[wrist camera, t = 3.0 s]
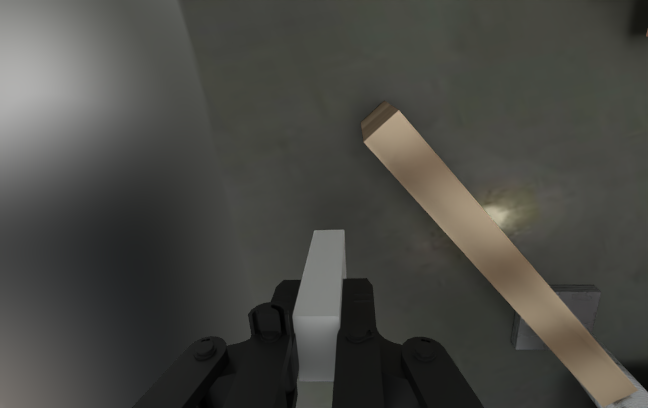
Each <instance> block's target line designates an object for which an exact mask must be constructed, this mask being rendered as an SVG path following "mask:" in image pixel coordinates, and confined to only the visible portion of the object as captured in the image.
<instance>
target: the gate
mask: <svg viewBox="0 0 648 408" xmlns="http://www.w3.org/2000/svg"><path fill="white" fill-rule="evenodd" d="M361 128H362V135H363V142H364V143H365V144H366V145H367V146H368V147H369V148H370V150H371V151H372V152H373V153H374V154H375V155H376V156H377V157H378V158H379V160H380V161H381V162H382V163H383V164H384V165H385V166H386V167H387V168H388V170H389V171H390V172H391V173H392V174H393V175H394V176H395V177H396V178H397V180H398V181H399V182H400V183H401V184H402V185H403V186H404V187H405V188H406V190H407V191H408V192H409V193H410V194H411V195H412V196H413V197H414V198H415V200H416V201H417V202H418V203H419V204H420V205H421V206H422V207H423V208H424V209H425V211H426V212H427V213H428V214H429V215H430V216H431V217H432V218H433V219H434V221H435V222H436V223H437V224H438V225H439V226H440V227H441V228H442V229H443V231H444V232H445V233H446V234H447V235H448V236H449V237H450V238H451V239H452V241H453V242H454V243H455V244H456V245H457V246H458V247H459V248H460V249H461V251H462V252H463V253H464V254H465V255H466V256H467V257H468V258H469V259H470V261H471V262H472V263H473V264H474V265H475V266H476V267H477V268H478V269H479V270H480V272H481V273H482V274H483V275H484V276H485V277H486V278H487V279H488V280H489V282H490V283H491V284H492V285H493V286H494V287H495V288H496V289H497V290H498V292H499V293H500V294H501V295H502V296H503V297H504V298H505V299H506V300H507V302H508V303H509V304H510V305H511V306H512V307H513V308H514V309H515V310H516V312H517V313H518V314H519V315H520V316H521V317H522V318H523V319H524V320H525V322H526V323H527V324H528V325H529V326H530V327H531V328H532V329H533V330H534V332H535V333H536V334H537V335H538V336H539V337H540V338H541V339H542V340H543V341H544V343H545V344H546V345H547V346H548V347H549V348H550V349H551V350H552V351H553V353H554V354H555V355H556V356H557V357H558V358H559V359H560V360H561V361H562V363H563V364H564V365H565V366H566V367H567V368H568V369H569V370H570V371H571V373H572V374H573V375H574V376H575V377H576V378H577V379H578V380H579V381H580V383H581V384H582V385H583V386H584V387H585V388H586V389H587V390H588V391H589V393H590V394H591V395H592V396H593V397H594V398H595V399H596V400H597V401H598V402H599V404H600V405H601V406H602V407H605V406H607V405H609V404H611V403H613V402H615V401H617V400H620V399H622V398H624V397H626V396H628V395H630V394H632V393H634V392H636V391H638V389H637V388H636V387H635V386H634V385H633V383H632V382H631V381H630V380H629V379H628V378H627V376H626V375H625V374H624V373H623V372H622V371H621V369H620V368H619V367H618V366H617V365H616V364H615V362H614V361H613V360H612V359H611V358H610V357H609V355H608V354H607V353H606V352H605V351H604V349H603V348H602V347H601V346H600V345H599V344H598V342H597V341H596V340H595V339H594V338H593V337H592V335H591V334H590V333H589V332H588V331H587V330H586V328H585V327H584V326H583V325H582V324H581V323H580V321H579V320H578V319H577V318H576V317H575V316H574V314H573V313H572V312H571V311H570V310H569V309H568V307H567V306H566V305H565V304H564V303H563V302H562V300H561V299H560V298H559V297H558V296H557V295H556V293H555V292H554V291H553V290H552V289H551V288H550V286H549V285H548V284H547V283H546V282H545V280H544V279H543V278H542V277H541V276H540V275H539V273H538V272H537V271H536V270H535V269H534V268H533V266H532V265H531V264H530V263H529V262H528V261H527V259H526V258H525V257H524V256H523V255H522V254H521V252H520V251H519V250H518V249H517V248H516V247H515V245H514V244H513V243H512V242H511V241H510V240H509V238H508V237H507V236H506V235H505V234H504V233H503V231H502V230H501V229H500V228H499V227H498V226H497V224H496V223H495V222H494V221H493V220H492V219H491V217H490V216H489V215H488V214H487V213H486V211H485V210H484V209H483V208H482V207H481V206H480V204H479V203H478V202H477V201H476V200H475V199H474V197H473V196H472V195H471V194H470V193H469V192H468V190H467V189H466V188H465V187H464V186H463V185H462V183H461V182H460V181H459V180H458V179H457V178H456V176H455V175H454V174H453V173H452V172H451V171H450V169H449V168H448V167H447V166H446V165H445V164H444V162H443V161H442V160H441V159H440V158H439V157H438V155H437V154H436V153H435V152H434V151H433V150H432V148H431V147H430V146H429V145H428V144H427V143H426V141H425V140H424V139H423V138H422V137H421V135H420V134H419V133H418V132H417V131H416V130H415V128H414V127H413V126H412V125H411V124H410V123H409V121H408V120H407V119H406V118H405V117H404V116H403V114H402V113H401V112H400V111H399V110H398V109H396V108H395V107H393V106H392V105H390V104H389V103H387V102H386V101H383V102H382V103H381V104H380V105H379V106H378V107H377V108H376V109H375V110H374V111H373V112H372V113H370V114H369V115H368V116H367V117H366V118H365V119H364V120H363V121H362V122H361Z"/></svg>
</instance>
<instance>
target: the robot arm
mask: <svg viewBox="0 0 648 408" xmlns="http://www.w3.org/2000/svg"><path fill="white" fill-rule="evenodd" d="M346 278H347V277H346V255H345V233H344V230H314V233H313V237H312V241H311V245H310V249H309V253H308V257H307V261H306V265H305V269H304V273H303V276H302V280H283V281H282V282H281V283H280V284H279V285H278V286H277V287H276V289H275V292H274V295H273V297H272V300H271V302H268V303H263V304H260V305H258V306H256V307H255V308H253V309H252V310H251V311H250V313H249V314H248V317H249V322H250V329H251V334H252V335H251V338H250V339H248V340H246V341H244V342H241V343H237V344H233V345H228V346H227V345H226V342H225V341H224V340H223V339H222V338H219V337H212V336H210V337H205V338H202V339H200V340H197V341H195V342H194V343H193V344H191V345H190V346H189V347H188V348H187V349H186V350H185V351H184V352H183V353H182V354H181V355H180V356H179V357H178V359H177V360H176V361H175V362H174V363H173V364H172V365H171V366H170V367H169V368H168V369H167V370H166V372H165V373H164V374H163V375H162V376H161V377H160V378H159V379H158V380H157V382H155V383H154V384H153V386H152V387H151V388H150V389H149V390H148V391H147V392H146V393H145V394H144V395H143V396H142V397H141V398H140V400H139V401H138V402H137V403H136V404H135V405H134V406H133V407H132V408H295V407H296V401H297V395H298V393H297V377H298V372H299V379H300V381H319V382H334V387H333V401H332V408H484V407H483V405H482V404H481V402H480V401H479V399H478V398H477V396H476V395H475V393H474V392H473V390H472V389H471V387H470V386H469V384H468V383H467V381H466V380H465V378H464V377H463V375H462V374H461V372H460V371H459V369H458V368H457V366H456V365H455V363H454V362H453V360H452V359H451V357H450V356H449V354H448V353H447V351H446V350H445V348H444V347H443V346H442V345H441V344H440V343H438V342H436V341H435V340H433V339H430V338H426V337H414V338H411V339H408V340H407V341H406V342H404V343H403V345H400V344H396V343H393V342H390V341H388V340H386V339H385V338H383V337H382V336H381V335H380V334H379V332H378V331H377V328H376V320H375V309H374V297H373V286H372V284H371V283H370V282H369V281H368V279H367V278H363V279H346Z"/></svg>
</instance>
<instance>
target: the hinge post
mask: <svg viewBox="0 0 648 408" xmlns="http://www.w3.org/2000/svg"><path fill="white" fill-rule="evenodd" d="M549 286H550V288H551V289H552V290H553V291H554V292H555V293H556V295H557V296H558V297H559V298H560V299H561V300H562V302H563V303H564V304H565V305H566V306H567V307H568V309H569V310H570V311H571V312H572V313H573V314H574V316H575V317H576V318H577V319H578V320H579V321H580V323H581V324H582V325H583V326H584V327H585V328H586V330H587V331H588V332H589V333H590V334H591V335H592V337H593V338H594V339H595V340H596V341H597V342H598V344H599V345H600V346H601V347H602V348H603V349H604V351H605V352H606V353H607V354H608V355H609V357H610V358H611V359H612V360H613V361H614V362H615V364H616V365H617V366H618V367H619V368H620V369H621V371H622V372H623V373H624V374H625V375H626V376H627V378H628V379H629V380H630V381H631V382H632V383H633V385H634V386H635V387H636V388H637V389H638V391H636V392H634V393H632V394H630V395H628V396H626V397H624V398H622V399H620V400H617V401H615V402H613V403H611V404H609V405H607V406H605V407H602V406H601V405H600V404H599V402H598V401H597V400H596V399H595V398H594V397H593V396H592V395H591V394H590V393H589V391H588V390H587V389H586V388H585V387H584V386H583V385H582V384H581V383H580V381H579V380H578V379H577V378H576V377H575V378H576V379H577V381H578V382H579V383H580V385H581V386H582V387H583V389H584V390H585V391H586V393H587V394H588V395H589V397H590V398H591V399H592V401H593V402H594V403H595V405H596V406H597V407H598V408H648V392H647V391H646V390H645V389H644V387H643V386H642V385H641V384H640V383H639V382H638V381H637V380H636V379H635V378H634V377H633V376H632V375H631V374H630V373H629V372H628V371H627V369H626V368H625V367H624V366H623V365H622V364H621V363H620V362H619V361H618V360H617V359H616V358H615V357H614V356H613V355H612V354H611V353H610V351H609V350H608V349H607V348H606V347H605V346H604V345H603V344H602V343H601V342H600V341H599V340H598V339H597V338H596V337H595V336H594V334H593V333H592V329H593V325H594V321H595V317H596V312H597V308H598V304H599V300H600V296H601V291H600V290H599V289H597V288H596V287H595V286H594V285H549ZM511 343H512V344H513V346H514V348H515V349H516V350H551V349H550V348H549V347H548V346H547V345H546V344H545V343H544V341H543V340H542V339H541V338H540V337H539V336H538V335H537V334H536V333H535V332H534V330H533V329H532V328H531V327H530V326H529V325H528V324H527V323H526V322H525V320H524V319H523V318H522V317H521V316H520V315H519V314H518V313H517V312H516V310H515V317H514V324H513V330H512V337H511Z"/></svg>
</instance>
